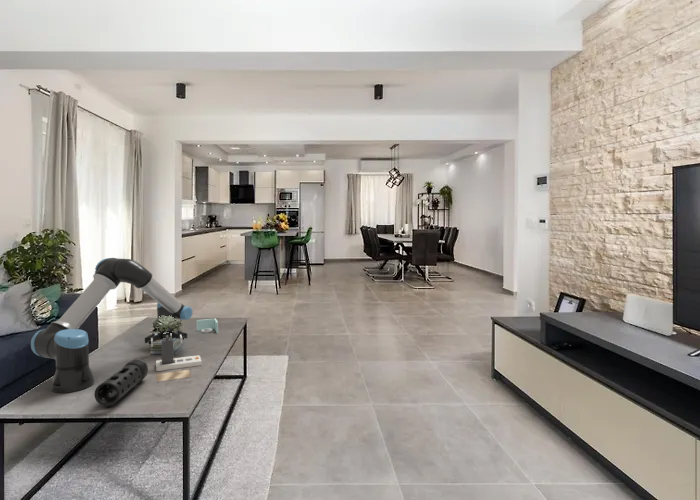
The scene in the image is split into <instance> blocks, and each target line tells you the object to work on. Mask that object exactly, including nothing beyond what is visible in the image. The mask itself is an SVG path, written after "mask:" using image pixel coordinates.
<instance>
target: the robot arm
mask: <svg viewBox="0 0 700 500" xmlns="http://www.w3.org/2000/svg"><path fill="white" fill-rule="evenodd" d="M94 269H95V271H94V274H93V276H92V279H93V280H92V281H91V282H90V284H89V285H88V286H87V287H86V288H85V289H84V290H83V291H82V293H81V294H80V295H79V296H78V297H77V299H76V300H74V302H73V303H72V304H71V305H70V306H69V307H68V309H67V310H66V311H65V312H64V313H63V315H62V316H61V317H60V318H59V319H58V320H56V321H51V322H50V324H49V325H47V327H46V328H43V329H40V330H38V331H37V332H36V333H34V334H33V336H32V338H31V341H30V348H31V351H32V352H33V354H35V355H36V356H39V357H41V358H46V359H47V358H48V359H52V360H55V373H54V376H53V379H52V381H51V392H54V393H59V394H63V393H72V392H78V391H81V390H84V389H88V388H89V387H91V386H93V385H94V384H95V375H94V374H93V372H92V369H91V368H90V361H89V360H90V354H89V353H90V352H89V336H88V335H89V334H88V332H87V331H85V330H83V329H79V328H80V327H81V325H83V324H84V322H85V321H86V320H87V318H88V317H89V316H90V315H91V314H92V313H93V311H94V310H95V309H96V308H97V306H98V305H99V304H100V303H101V302H102V300H103V299H104V298H105V296H106V295H107V294H108V293H109V292H110V291H111V290H115V289H117V287H118V286H119V285H120V284H121V283H127V284H129V285H132V286H134V287H135V288H136V289H141V290H142V291H143V292H145V293H146V294H147V295H148V296H149V297H150V298H152V299H153V300H154V301H155V302H156V309H157V310H156V311H157V312H156V315H157V318H158V317H159V316H160V317H161V315H165V316H169V315H170V316H171V315H172V317H174V318H173V319H176V320H181V321H183V320H185V321H187V320H188V321H189V320H190V319H191V318H192V316H193V311H194V310H193V308H192V307H191V306H188V305H184V304H183V303H181V301H179V300H178V299H177V298H176V297H175V296H174V295H173V294H172V293H171V292H170V291H168V290H167V289H166V288H165V287H164V286H163V285H162V284H160V282H158V281H157V280H156V279H155V278H154V277H153V273H152V272H150V271H149V270H148V269H147V268H145V266H143V265H142V264H140V263H139V262H137V261H136V260H134V259H130V258H118V257H117V258H116V257H108V258H104V259H101V260H100V261H99V262H98V263H97V264H96V265H95V268H94ZM159 331H160V330H159ZM167 332H169V333H166V334H163V333H164V331H162V332H160V333H158V332H157V333H154V332H152V333H151V334H149V335H148V336H146V337H144V343H145V344H147V343H148V345H150V347H153V346H154V344H153V343H154V342H156V341H158V340H159V341H161V339H163V338H166V335H168V338H169V337H170V333H172V338H173V339H179V341H180V344H182V343H183V341H184V340H185V339H188V333H186V332H184V331H180V330H178V329H177V330H176V331H173V332H172V331H167ZM175 332H176V333H175ZM155 334H157V335H155Z"/></svg>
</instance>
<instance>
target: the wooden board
mask: <svg viewBox="0 0 700 500" xmlns="http://www.w3.org/2000/svg"><path fill="white" fill-rule="evenodd" d="M187 378H192V374H191V371H190V369H184V370H177V371H176V370H175V371H170V372H162V373H156V384H157V383H159V382H163V383H164V382H166V381H169V382H171V381H173V380H177V379H179V380H180V379H183V380H184V379H187Z"/></svg>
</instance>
